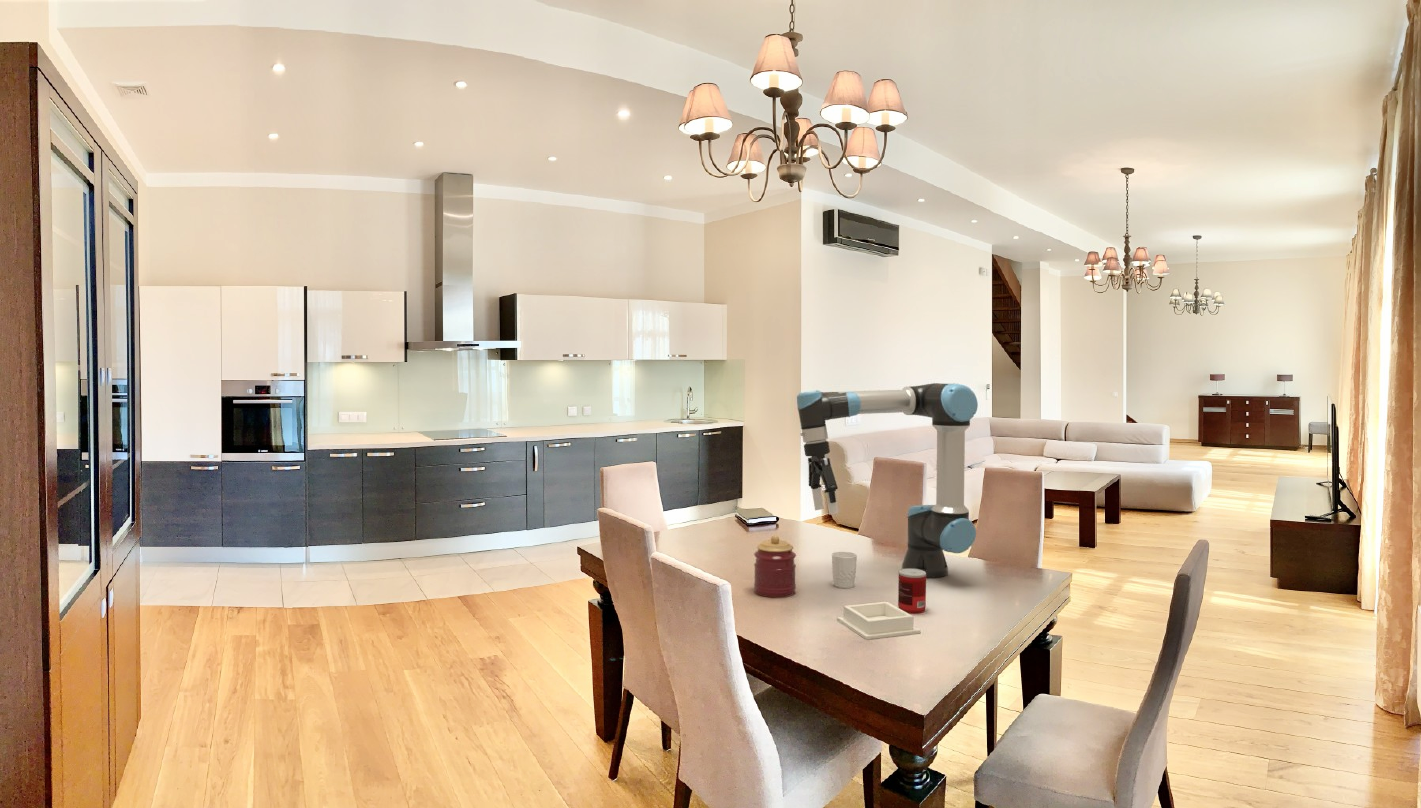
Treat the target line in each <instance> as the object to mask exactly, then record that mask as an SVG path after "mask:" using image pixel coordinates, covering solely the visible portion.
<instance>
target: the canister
mask: <svg viewBox="0 0 1421 808" xmlns="http://www.w3.org/2000/svg"><path fill="white" fill-rule="evenodd" d="M756 548H757V551H755V552H754V553H753V555H754V557H755V562H754V564H753V566H754V582H753V589H754V592H755V593H756V594H757V595H758V596H762V597H768V598H769V597H770V598H786V597H790V596H792V595H794V594H796V588H797V587H796V586H797V584H796V568H797V565H796V563H795V558H796V557H797V555H796V553H795V552H794V551H793V550H794V546H793V544H790V542H787V541H784V540H780V537H779V536H778V535H772V536H771V537H770V539H769V540H764V541H762V542H761V543H759V544H757V546H756Z"/></svg>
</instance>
